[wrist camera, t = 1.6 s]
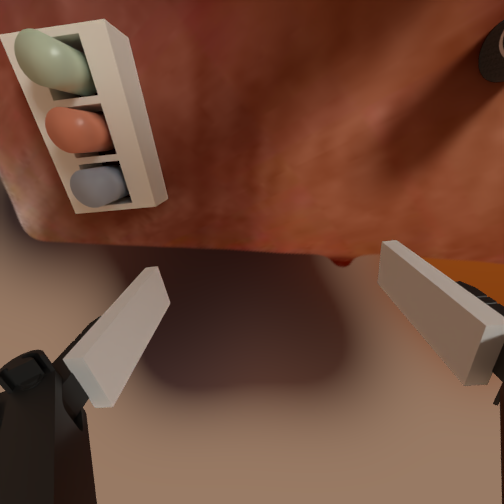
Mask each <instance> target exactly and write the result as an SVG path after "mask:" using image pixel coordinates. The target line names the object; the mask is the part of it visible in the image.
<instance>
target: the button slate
mask: <svg viewBox="0 0 504 504" xmlns="http://www.w3.org/2000/svg"><path fill="white" fill-rule="evenodd" d="M70 187H71V191H72V193H73V195H74V196H75V197H76V199H77V200H78V201H79V202H81V203H82V204H84V205H86V206H88V207H92V208H98V207H101V206H104V205H106V204H108V203H111V202H113V201H116V200H118V199H121V198H123V197H125V196H127V195H128V194H129V191H128V188H127V185H126V181H125V178H124V175H123V172H122V169H121V167H119V166H116V165H108V166H101V167H95V168H89V169H83V170H78V171H76V172H75V173H73V175H72V176H71V179H70Z"/></svg>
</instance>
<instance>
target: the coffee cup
mask: <svg viewBox="0 0 504 504" xmlns="http://www.w3.org/2000/svg"><path fill="white" fill-rule="evenodd" d="M479 70H480V73H481V74H482V76H483V77H484V78H485V79H486V80H488V81H491V82H503V81H504V20H503V21H502V22H500V23H499V24H498V25H497V26H496V27H495V28H494V29H493V30H492V31H491V32H490V33H489V35H488V36H487V38H486V39H485V41H484V43H483V45H482V48H481V51H480V54H479Z"/></svg>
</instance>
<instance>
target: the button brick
mask: <svg viewBox="0 0 504 504" xmlns="http://www.w3.org/2000/svg"><path fill="white" fill-rule="evenodd" d="M45 127H46V131H47V134H48V136H49V137H50V139H51V140H52V142H53V143H54V144H55V145H56V146H57V147H58V148H60V149H61V150H63V151H65V152H68V153H87V152H102V151H109V150H111V149H113V148H114V144H113V140H112V137H111V134H110V131H109V128H108V125H107V122H106V118H105V116H104V115H102V114H100V113H94V112H89V111H83V110H77V109H71V108H65V107H55V108H52V109H51V110H50V111H49V112H48V113H47V115H46V118H45Z"/></svg>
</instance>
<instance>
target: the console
mask: <svg viewBox="0 0 504 504" xmlns="http://www.w3.org/2000/svg"><path fill="white" fill-rule="evenodd" d="M35 30H38V31H40V32H42V33H44V34H46V35H48V36H50V37H52V38H54V39H57V40H59V41H61V42H63V43H65V44H67V45H69V46H71V47H73V48H75V49H77V50H79V51H81V52H83V53H85V55H86V59H87V62H88V65H89V68H90V71H91V74H92V77H93V81H94V84H95V87H96V90H97V93H98V95H95V96H87V97H79V95H76V94H72V93H68V92H64V91H60V90H56V89H52V88H48V87H44V86H40V85H38V84H36V83H34V82H33V81H31V80H30V79H29V78H28V77H27V76H26V75H25V74H24V72H23V71H22V70H21V68H20V66H19V64H18V62H17V59H16V56H15V51H14V43H15V39H16V37H17V35H18V34H19V32H14V33H7V34H1V35H0V39H1V41H2V43H3V46H4V48H5V50H6V53H7V55H8V57H9V60H10V62H11V64H12V67H13V69H14V71H15V74H16V76H17V78H18V81H19V83H20V85H21V88H22V90H23V92H24V95H25V97H26V99H27V102H28V104H29V106H30V109H31V111H32V113H33V116H34V118H35V120H36V123H37V125H38V127H39V129H40V132H41V134H42V136H43V139H44V141H45V143H46V146H47V148H48V150H49V153H50V155H51V157H52V160H53V162H54V164H55V167H56V169H57V171H58V174H59V176H60V178H61V181H62V183H63V185H64V188H65V190H66V192H67V195H68V197H69V199H70V202H71V204H72V206H73V209H74V211H75V213H76V214H80V213H91V212H102V211H113V210H124V209H136V208H147V207H156V206H158V205H159V204H161V203H163V202H164V201H166V200H167V199H168V195H167V191H166V187H165V183H164V179H163V175H162V171H161V167H160V163H159V159H158V155H157V151H156V147H155V143H154V139H153V135H152V131H151V127H150V123H149V119H148V114H147V110H146V106H145V102H144V98H143V94H142V90H141V86H140V82H139V78H138V74H137V70H136V66H135V62H134V58H133V54H132V50H131V46H130V42H129V38H128V37H127V36H125V35H124V34H123V33H121V32H120V31H119V30H118V29H116V28H115V27H114V26H112V25H111V24H110V23H109V22H107V21H106V20H105V19H101V20H94V21H87V22H81V23H74V24H67V25H61V26H54V27H47V28H41V29H35ZM55 107H65V108H71V109H77V110H83V111H89V112H97V111H103V112H104V115H105V118H106V122H107V125H108V128H109V131H110V134H111V137H112V140H113V144H114V147H115V150H116V153H117V154H112V155H103V156H99V153H98V152H87V153H68V152H65V151H63V150H61V149H60V148H58V147H57V146H56V145H55V144H54V143H53V142H52V140H51V139H50V137H49V136H48V134H47V131H46V127H45V118H46V115H47V113H48V112H49V111H50V110H51V109H52V108H55ZM110 161H119V163H120V166H121V169H122V172H123V175H124V178H125V181H126V185H127V188H128V191H129V194H130V197H127V198H121V199H118V200H116V201H113V202H111V203H108V204H106V205H104V206H101V207H98V208H92V207H88V206H86V205H84V204H82V203H81V202H79V201H78V200H77V199H76V197H75V196H74V195H73V193H72V191H71V187H70V179H71V176H72V175H73V173H75V172H76V171H78V170H83V169H89V168H95V167H101V166H103V164H102V162H110Z"/></svg>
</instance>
